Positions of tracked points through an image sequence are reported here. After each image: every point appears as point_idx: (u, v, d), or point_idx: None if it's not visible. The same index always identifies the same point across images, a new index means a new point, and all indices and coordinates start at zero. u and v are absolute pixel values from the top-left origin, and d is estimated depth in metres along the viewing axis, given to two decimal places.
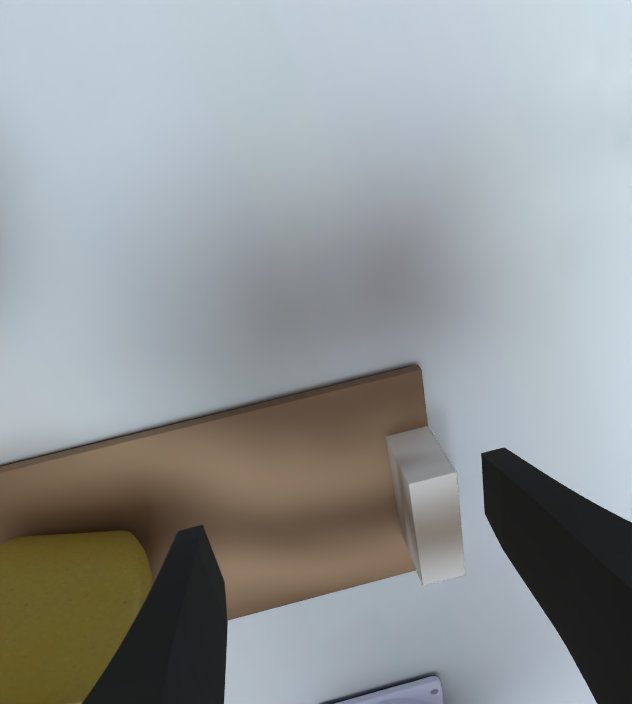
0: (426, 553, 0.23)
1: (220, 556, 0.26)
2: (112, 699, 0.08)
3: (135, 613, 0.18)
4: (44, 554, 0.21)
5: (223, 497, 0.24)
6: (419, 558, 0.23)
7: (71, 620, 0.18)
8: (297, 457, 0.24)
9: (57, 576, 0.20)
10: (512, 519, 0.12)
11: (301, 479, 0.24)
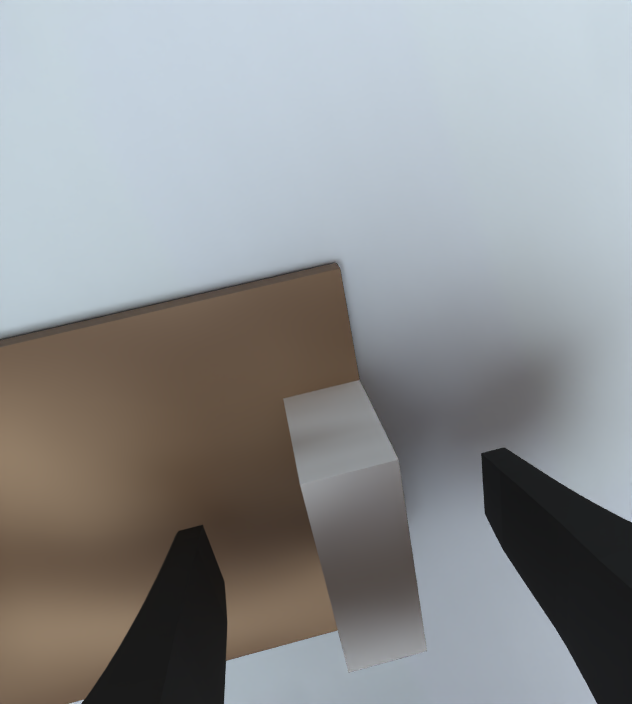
0: (349, 616, 0.12)
1: (8, 610, 0.15)
2: (112, 698, 0.08)
3: None
4: None
5: None
6: (337, 625, 0.12)
7: None
8: (119, 436, 0.13)
9: None
10: (512, 519, 0.12)
11: (134, 476, 0.14)
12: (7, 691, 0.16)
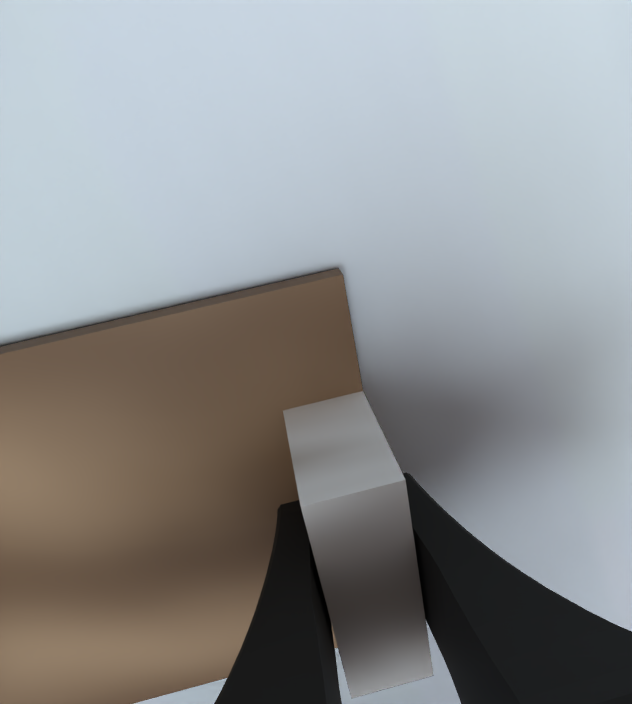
0: (352, 641, 0.11)
1: None
2: (268, 656, 0.08)
3: None
4: None
5: None
6: (339, 650, 0.12)
7: None
8: (111, 450, 0.12)
9: None
10: None
11: (126, 491, 0.13)
12: None
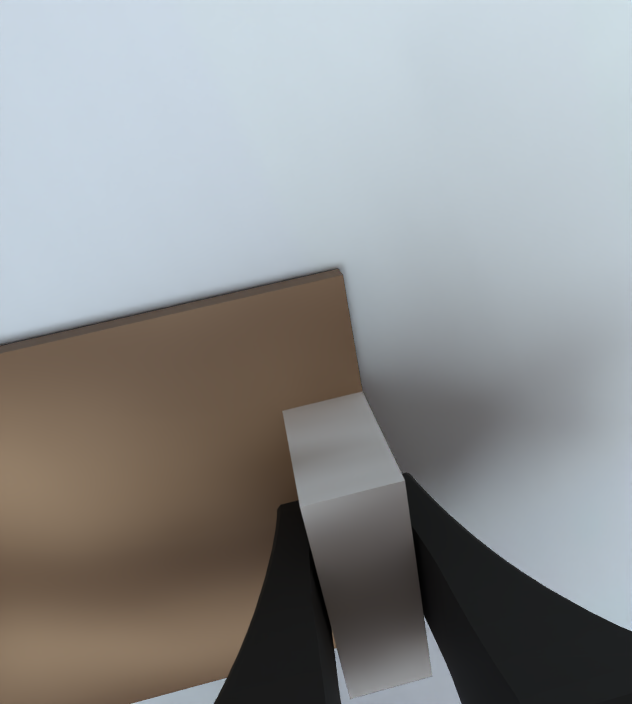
0: (350, 641, 0.11)
1: None
2: (267, 656, 0.08)
3: None
4: None
5: None
6: (338, 650, 0.12)
7: None
8: (110, 450, 0.12)
9: None
10: None
11: (126, 491, 0.13)
12: None
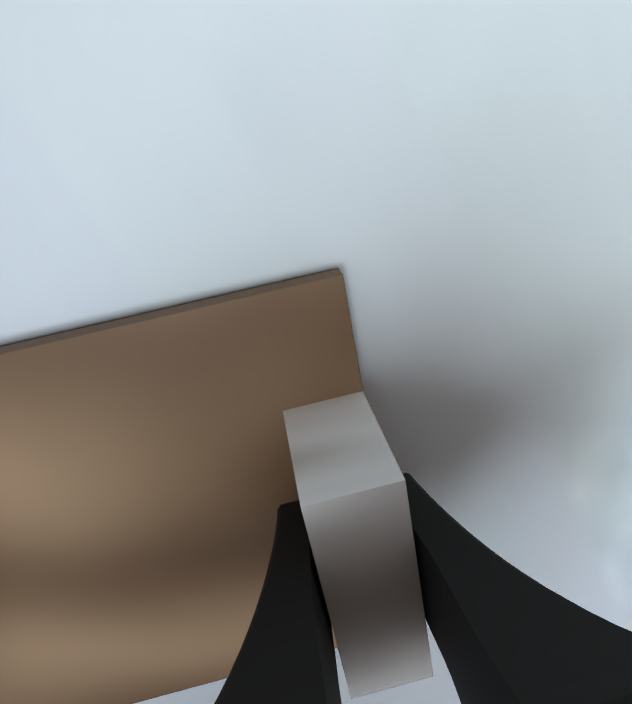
0: (351, 641, 0.11)
1: None
2: (267, 656, 0.08)
3: None
4: None
5: None
6: (339, 650, 0.12)
7: None
8: (111, 450, 0.12)
9: None
10: None
11: (126, 492, 0.13)
12: None
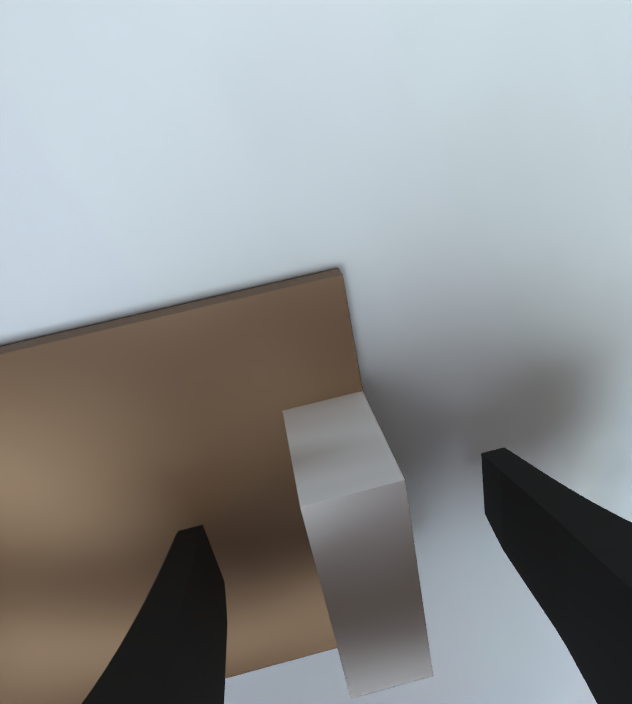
0: (351, 641, 0.11)
1: None
2: (112, 698, 0.08)
3: None
4: None
5: None
6: (339, 650, 0.12)
7: None
8: (110, 450, 0.12)
9: None
10: (512, 519, 0.12)
11: (126, 492, 0.13)
12: None
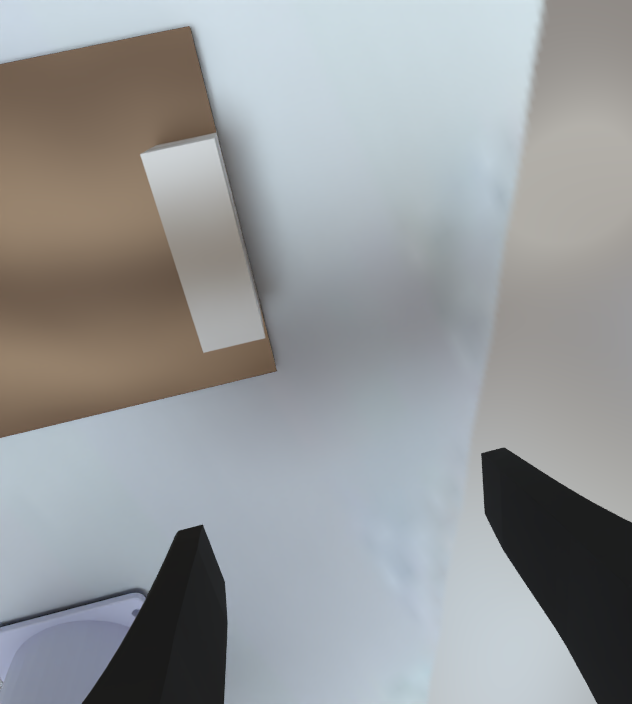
0: (195, 291, 0.16)
1: None
2: (112, 699, 0.08)
3: None
4: None
5: None
6: (188, 301, 0.16)
7: None
8: (25, 170, 0.17)
9: None
10: (512, 519, 0.12)
11: (40, 211, 0.17)
12: None
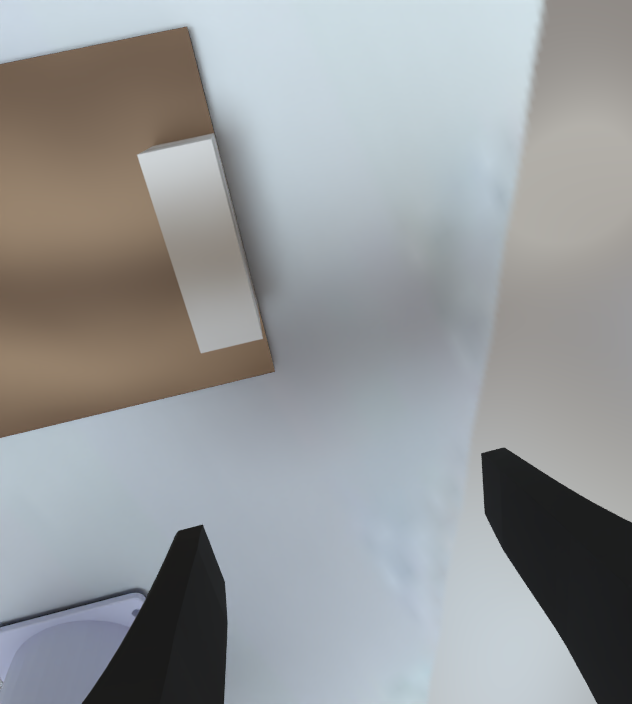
0: (193, 292, 0.16)
1: None
2: (112, 699, 0.08)
3: None
4: None
5: None
6: (185, 302, 0.16)
7: None
8: (23, 171, 0.17)
9: None
10: (512, 519, 0.12)
11: (37, 211, 0.17)
12: None
